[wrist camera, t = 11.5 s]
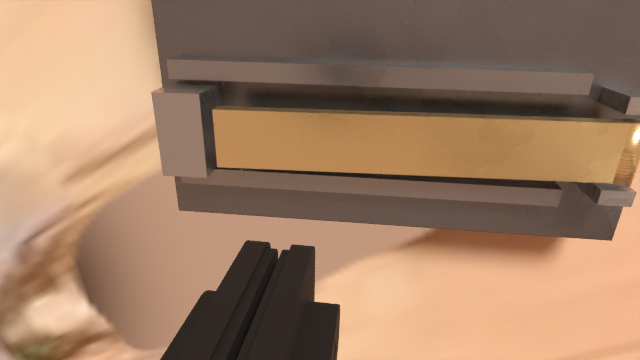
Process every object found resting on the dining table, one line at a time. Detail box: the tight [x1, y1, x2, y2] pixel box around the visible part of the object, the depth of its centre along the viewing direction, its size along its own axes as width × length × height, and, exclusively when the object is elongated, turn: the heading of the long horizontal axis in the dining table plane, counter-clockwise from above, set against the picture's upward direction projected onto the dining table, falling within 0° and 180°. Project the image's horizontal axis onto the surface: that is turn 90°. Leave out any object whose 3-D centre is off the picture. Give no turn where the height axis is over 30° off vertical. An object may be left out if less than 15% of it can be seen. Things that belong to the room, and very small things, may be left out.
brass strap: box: [212, 106, 640, 186], centre depth 20 cm, size 21×3×1 cm, turn 89°
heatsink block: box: [151, 0, 640, 241], centre depth 21 cm, size 26×24×7 cm
